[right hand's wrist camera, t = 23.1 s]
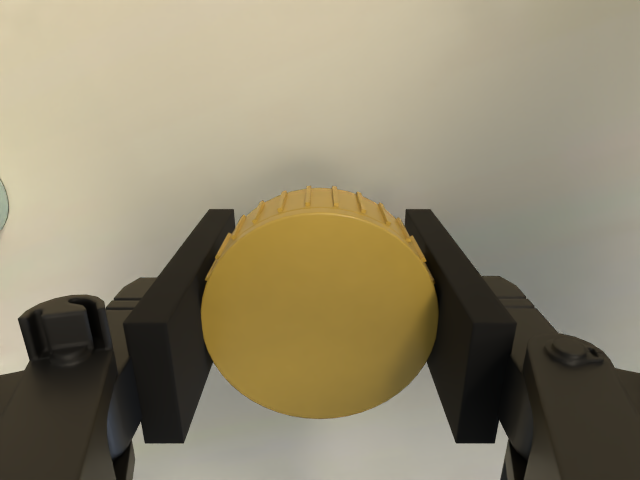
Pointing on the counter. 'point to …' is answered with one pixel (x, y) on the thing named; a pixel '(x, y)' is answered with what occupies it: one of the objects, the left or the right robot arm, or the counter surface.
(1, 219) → the jar
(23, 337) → the right robot arm
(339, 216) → the lid
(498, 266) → the counter surface
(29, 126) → the counter surface
